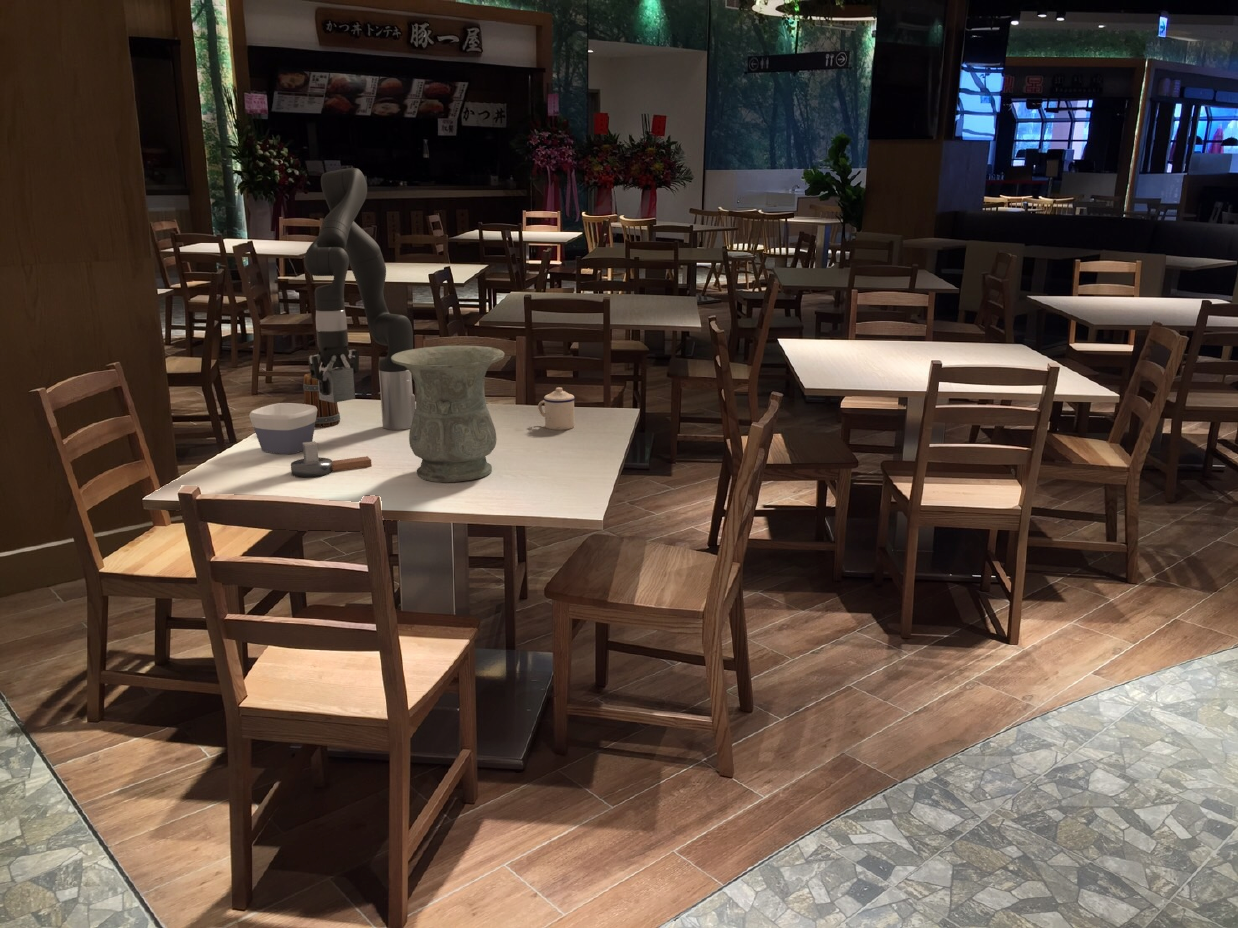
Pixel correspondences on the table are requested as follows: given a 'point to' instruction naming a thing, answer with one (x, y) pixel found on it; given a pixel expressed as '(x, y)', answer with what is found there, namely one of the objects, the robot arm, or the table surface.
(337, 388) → the grey rectangular block
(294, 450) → the bowl
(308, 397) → the mug
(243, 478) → the table surface
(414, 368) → the vessel
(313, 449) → the dark handled piece
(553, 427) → the teacup with lid
